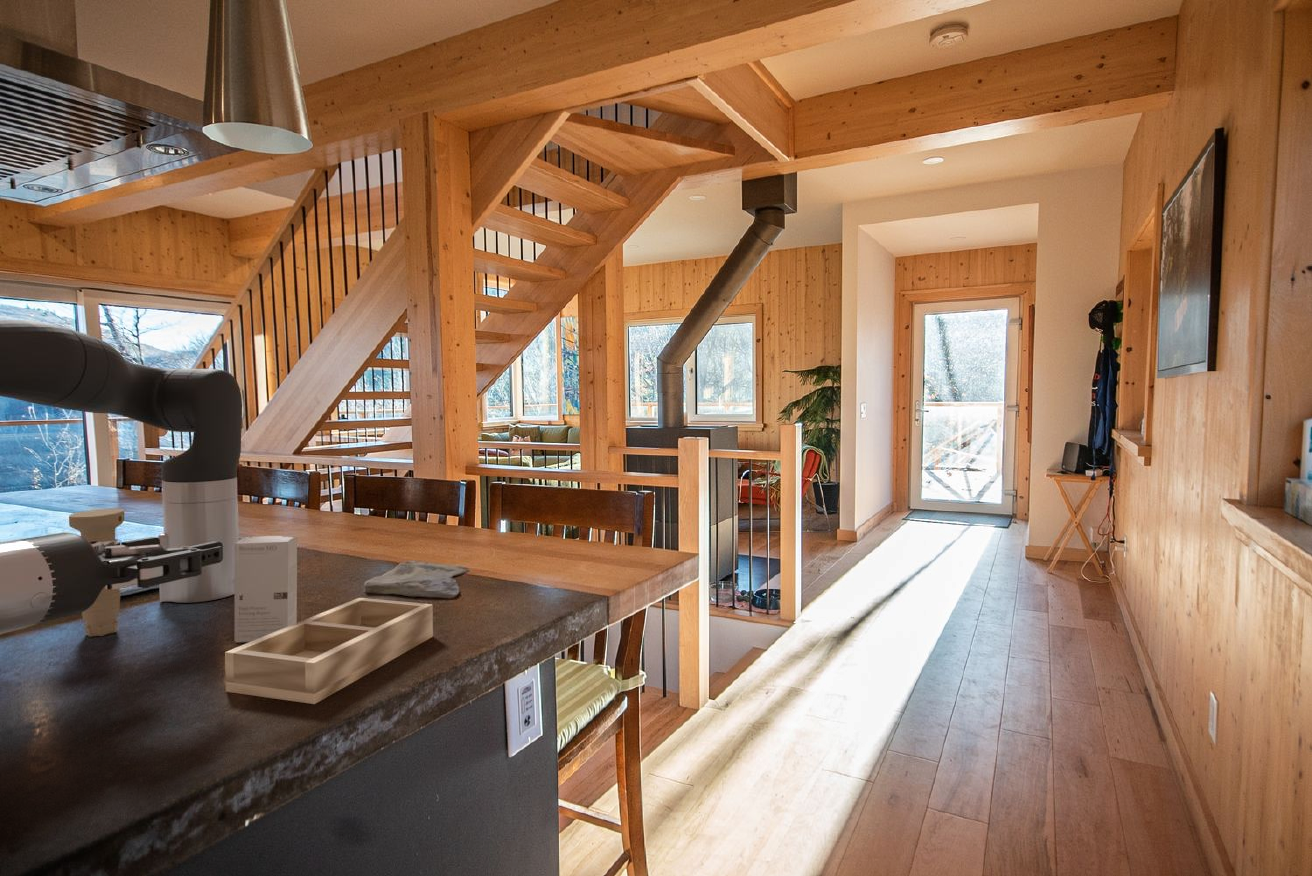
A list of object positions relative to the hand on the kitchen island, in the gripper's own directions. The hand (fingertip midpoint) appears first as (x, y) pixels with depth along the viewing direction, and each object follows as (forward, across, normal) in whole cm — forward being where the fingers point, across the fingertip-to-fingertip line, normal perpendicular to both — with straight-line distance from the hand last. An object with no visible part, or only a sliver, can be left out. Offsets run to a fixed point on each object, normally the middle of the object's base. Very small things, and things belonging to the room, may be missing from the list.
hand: (188, 548), depth 75 cm
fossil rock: (+38, -4, +13) cm, 41 cm away
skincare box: (+11, 0, +13) cm, 17 cm away
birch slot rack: (+6, -14, +13) cm, 20 cm away
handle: (+6, +20, +13) cm, 25 cm away
